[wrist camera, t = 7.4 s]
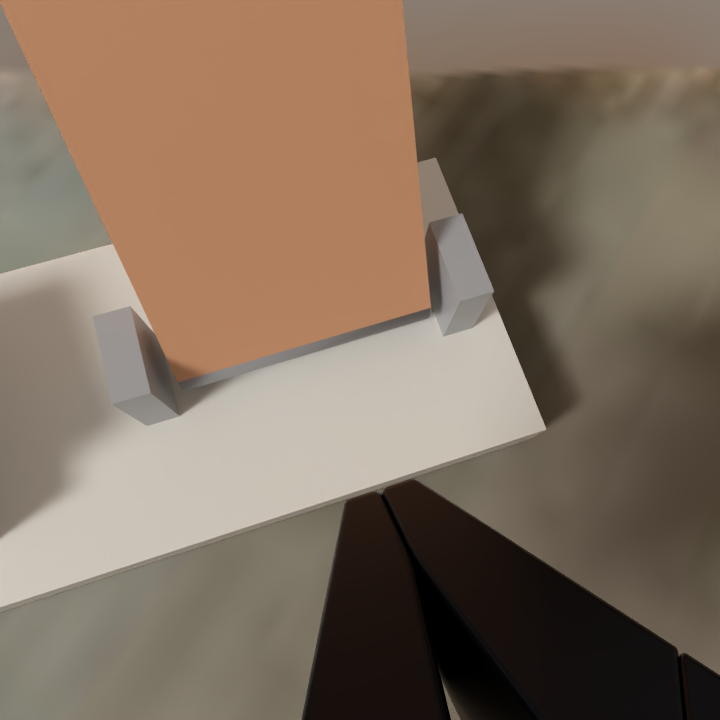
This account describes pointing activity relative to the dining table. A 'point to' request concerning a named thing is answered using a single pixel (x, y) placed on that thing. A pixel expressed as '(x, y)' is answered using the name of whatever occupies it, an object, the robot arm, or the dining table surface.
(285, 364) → the switch console
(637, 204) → the dining table surface
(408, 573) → the robot arm
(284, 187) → the paddle
